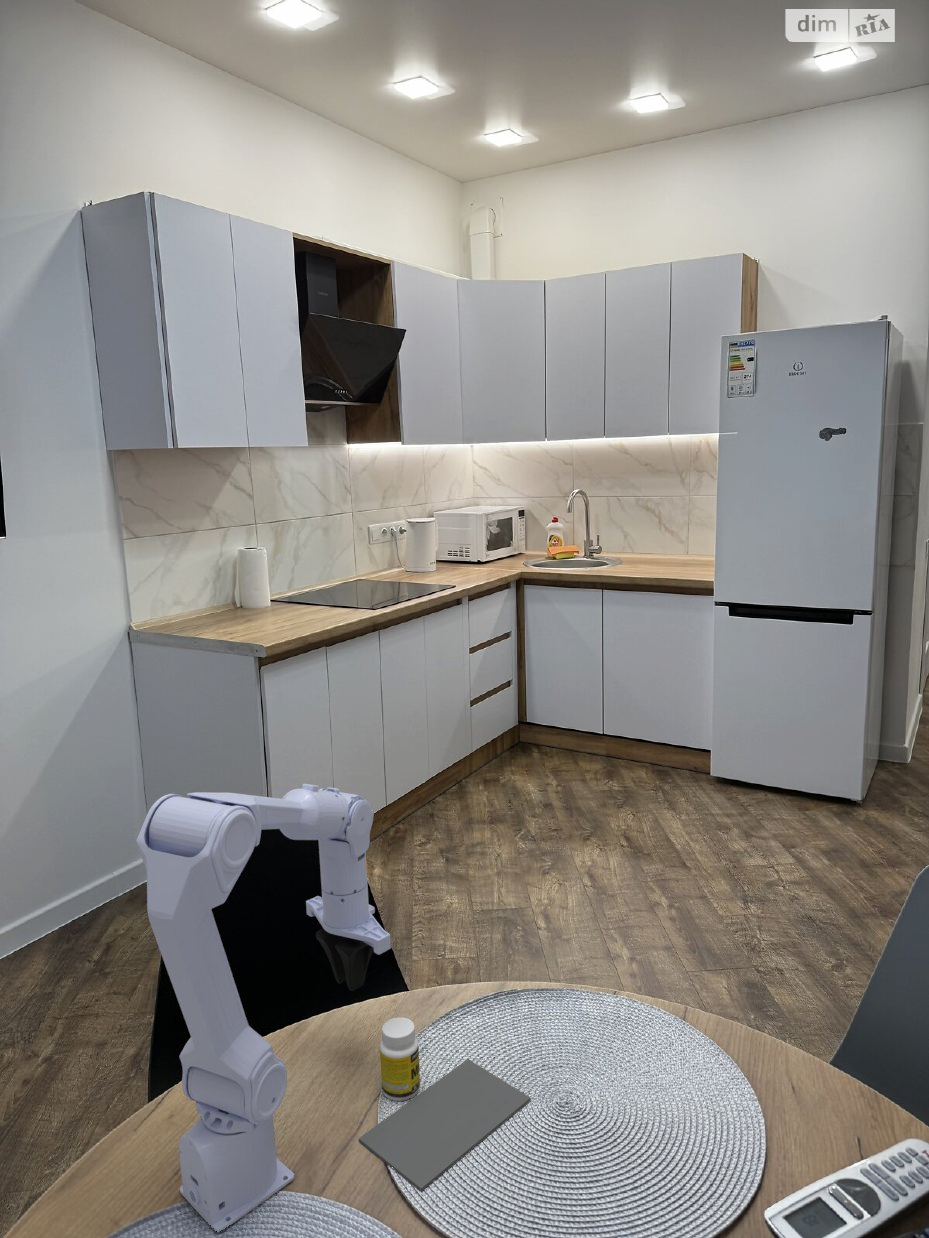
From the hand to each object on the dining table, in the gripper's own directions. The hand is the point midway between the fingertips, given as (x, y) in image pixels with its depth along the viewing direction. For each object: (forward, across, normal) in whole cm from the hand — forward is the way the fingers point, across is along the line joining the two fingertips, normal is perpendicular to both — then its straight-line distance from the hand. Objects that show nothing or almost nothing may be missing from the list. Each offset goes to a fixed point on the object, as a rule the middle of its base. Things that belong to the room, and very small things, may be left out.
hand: (350, 983), depth 113 cm
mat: (+10, -17, 0) cm, 20 cm away
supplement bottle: (+11, -9, 0) cm, 14 cm away
